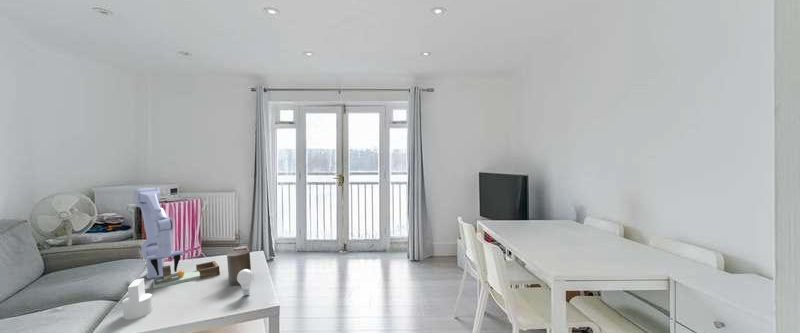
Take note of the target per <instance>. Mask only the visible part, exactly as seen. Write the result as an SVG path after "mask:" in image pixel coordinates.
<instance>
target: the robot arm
mask: <svg viewBox="0 0 800 333" xmlns="http://www.w3.org/2000/svg"><path fill="white" fill-rule="evenodd" d="M133 192H134V194H133V196H134V202H135V205H136V207H137V208H140V211H141V214H142V219H143V225H144V231H145V236H146V239H145V240H144V242H142V244H141V247H140V248H141V257H142V259H144V260H146V271H147V272H146V273H145V275H146V279H147V280H148V279H149V280H150V279H154V278H155V277H160V276H163V269H162V267H163V266H165V259H167V258H173V262H174V264H173V265H174V266H173V270H174V271H173V272H174V273H178V265H179V262H180V260H181V256H184V255H185V252H184V250H183V249H182V250H175V251H173V241H172V240H173V238H172V230H173V229H174V227H173V226H174V224H173V220H172V218H171V217H169V216H168V215H167V213H166V211H165V209H164V208H163V207H161V205H160V202H159V201H160V198H161V190H160V188H159V187H149V188H147V187H146V188H136V189H135V190H134V191H133Z"/></svg>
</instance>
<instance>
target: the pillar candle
mask: <svg viewBox="0 0 800 333" xmlns="http://www.w3.org/2000/svg"><path fill="white" fill-rule="evenodd" d="M226 257H227V260H226V261H227V272H228V284H229V285H230V286H241V285H240V284H239V282H238V281H237V275H238V273H239V272H240V271H241V270H243V269H249V270H251V271H252V267H251V266H252V265H251V263H252V262H251V253H250V249H249V250H237V251H234V250H233V251H231V252H228V253H227V254H226Z"/></svg>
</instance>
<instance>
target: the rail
mask: <svg viewBox="0 0 800 333" xmlns="http://www.w3.org/2000/svg"><path fill="white" fill-rule="evenodd" d="M177 273H178V272H174V273H171V277H174V278H170V279H165V280H161V279H163V276H159V277H155V278H153V280H154V283H155V285H157V284H162V283H166V282H171V281H175V280H179V277H175V276H177ZM157 280H161V281H157Z"/></svg>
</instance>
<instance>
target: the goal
mask: <svg viewBox="0 0 800 333" xmlns="http://www.w3.org/2000/svg"><path fill="white" fill-rule="evenodd" d="M195 266H196V270H195V271H198V270H199V272H200V278H199V279H206V278H209V277H215V276H219V275H220V265H218V263H217V262H216V261H215V260H213V261H208V262H203V263H198V264H195ZM214 275H215V276H214Z"/></svg>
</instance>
